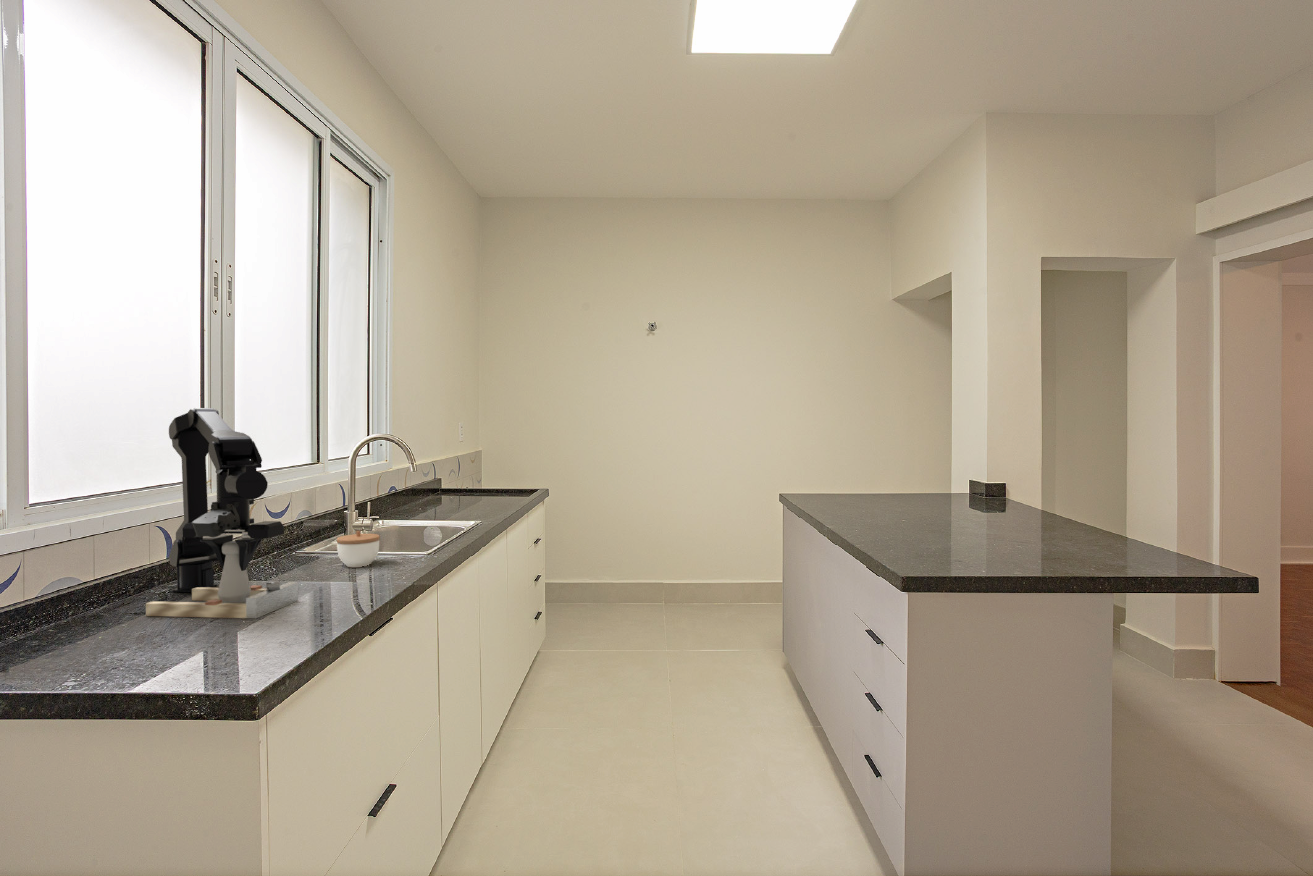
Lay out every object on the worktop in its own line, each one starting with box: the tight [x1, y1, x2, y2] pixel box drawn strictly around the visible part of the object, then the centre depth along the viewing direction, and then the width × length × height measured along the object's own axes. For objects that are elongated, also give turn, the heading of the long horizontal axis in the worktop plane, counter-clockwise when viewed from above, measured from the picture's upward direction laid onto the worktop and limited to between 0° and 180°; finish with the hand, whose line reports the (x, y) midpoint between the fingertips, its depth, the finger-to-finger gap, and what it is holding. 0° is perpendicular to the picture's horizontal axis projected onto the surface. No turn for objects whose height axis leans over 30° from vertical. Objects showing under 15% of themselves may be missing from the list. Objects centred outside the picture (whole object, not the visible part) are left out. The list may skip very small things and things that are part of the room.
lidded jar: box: [336, 530, 381, 568], centre depth 176 cm, size 11×11×9 cm
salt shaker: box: [218, 540, 251, 603], centre depth 135 cm, size 6×6×13 cm
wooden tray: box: [145, 580, 299, 619], centre depth 135 cm, size 24×14×6 cm, turn 85°
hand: (234, 570), depth 135 cm, fingers closed on salt shaker, 4 cm apart
